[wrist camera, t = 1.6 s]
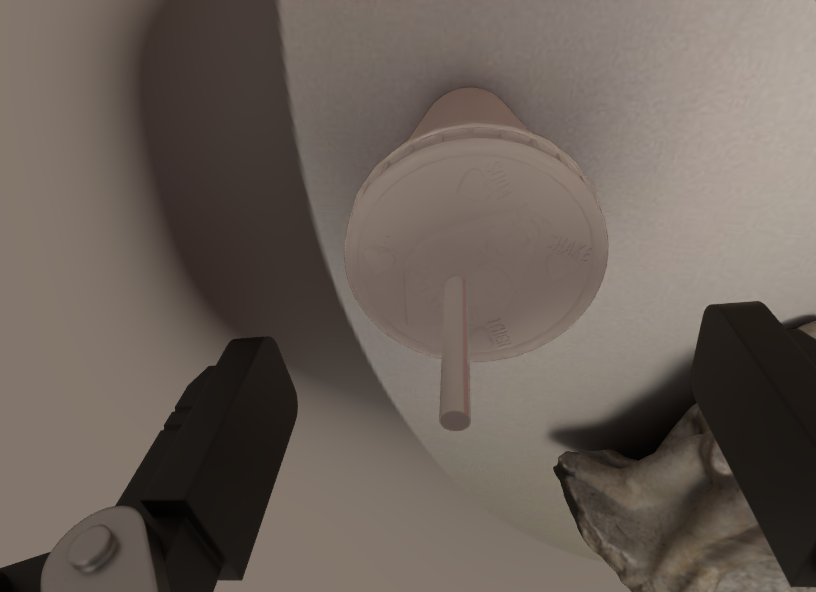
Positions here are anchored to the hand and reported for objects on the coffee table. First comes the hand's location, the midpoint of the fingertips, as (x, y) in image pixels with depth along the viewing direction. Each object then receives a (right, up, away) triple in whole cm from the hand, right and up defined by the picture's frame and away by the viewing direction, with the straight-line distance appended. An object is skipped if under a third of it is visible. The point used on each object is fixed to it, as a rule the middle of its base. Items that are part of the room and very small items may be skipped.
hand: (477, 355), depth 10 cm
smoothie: (+1, +8, +10) cm, 13 cm away
